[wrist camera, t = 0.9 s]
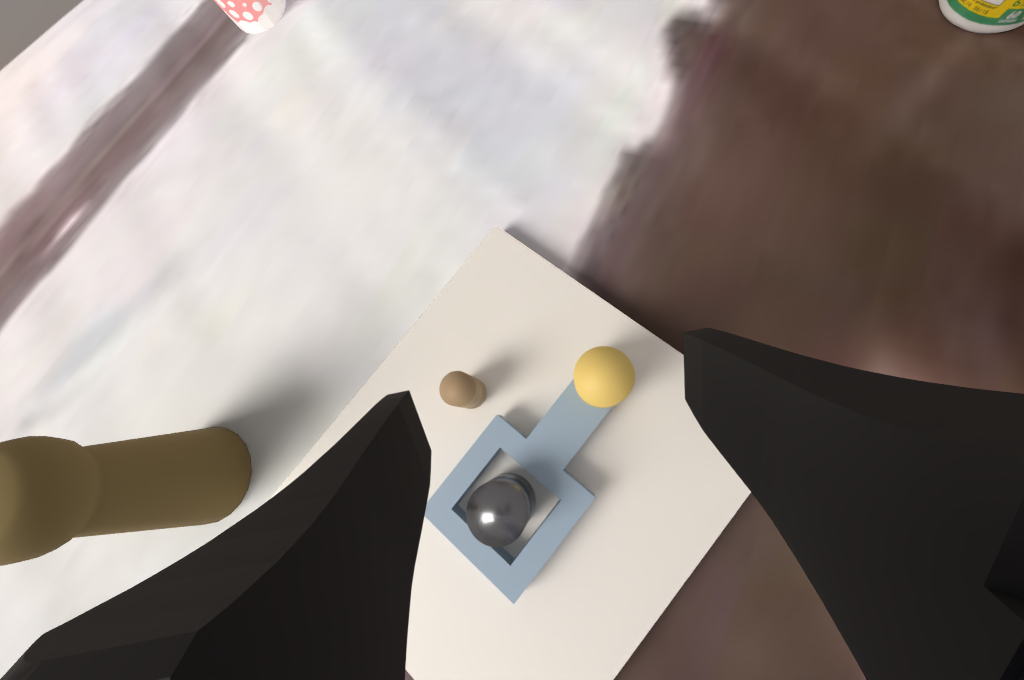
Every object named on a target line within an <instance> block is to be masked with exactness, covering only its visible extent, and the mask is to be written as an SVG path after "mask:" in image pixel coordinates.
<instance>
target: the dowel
mask: <svg viewBox="0 0 1024 680" xmlns="http://www.w3.org/2000/svg"><path fill="white" fill-rule="evenodd" d="M439 392H440V396H441V398H442V399H443V401H444V402H445V403H447V404H448V405H451V406H456V407H461V408H467V409H475V408H477V407H479V406H480V405H482V404H483V402H484V401H485V398H486V394H487V393H486V387H485V385H484V384H483V382H482V381H480V380H479V379H477V378H475V377H473V376H471V375H469V374H466V373H464V372H462V371H452V372H450V373H448V374H447V375H445V376H444V378H443V379H442V381H441V383H440V387H439Z"/></svg>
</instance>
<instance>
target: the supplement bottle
mask: <svg viewBox="0 0 1024 680" xmlns="http://www.w3.org/2000/svg"><path fill="white" fill-rule="evenodd" d="M939 6H940V9H941V11H942V13H943V15H944V16H945V17H946V18H947V19H948V20H949V21H950V22H951V23H953V24H954V25H956V26H958V27H960V28H962V29H964V30H967V31H970V32H975V33H999V32H1004V31H1009V30H1012V29H1015V28H1017V27H1019V26H1021V25H1023V24H1024V0H939Z"/></svg>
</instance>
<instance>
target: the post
mask: <svg viewBox="0 0 1024 680" xmlns="http://www.w3.org/2000/svg"><path fill="white" fill-rule="evenodd" d="M535 503H536V498H535V493H534V490H533V488H532V486H531V484H530V483H529V482H528V481H527V480H526V479H525V478H524V477H522V476H521V475H518V474H515V473H504V474H501V475H499V476H497V477H495V478H493V479H492V480H490V481H488V482H486V483H485V484H483V485H481V486H480V487H478V488H477V489H476V490H475V491H474V492H473V493H472V495H471V497H470V498H469V501H468V503H467V508H466V520H467V524H468V527H469V529H470V531H471V533H472V534H473V536H474V537H475V538H476V539H477V540H478V541H479V542H481V543H483V544H484V545H487V546H490V547H504V546H507V545H510V544H511V543H513V542H514V541H515V540H517V539H518V538H519V536H520V535H521V534H522V532H523V530H524V528H525V527H526V525H527V523H528V521H529V519H530V518H531V516H532V514H533V512H534V509H535Z"/></svg>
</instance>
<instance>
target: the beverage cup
mask: <svg viewBox="0 0 1024 680" xmlns="http://www.w3.org/2000/svg"><path fill="white" fill-rule="evenodd" d="M214 1H215V2H216V3H217V4H218V5H219V6H220V7H221V8H222V9H223V11H224V12H225V13H226V14H227V15H228V16H229V17H230V18H231V19H232V20H233V21H234V22H235V23H236V24H237V25H238V27H239V28H240V29H242V30H243V31H245V32H246V33H253V34H257V33H260V32H264V31H266V30H268V29H270V28H271V27H273V26H274V25H275V24H276V23H277V22H278V21H279V20H280V19H281V18H282V15H283V13H284V11H285V2H286V0H214Z"/></svg>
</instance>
